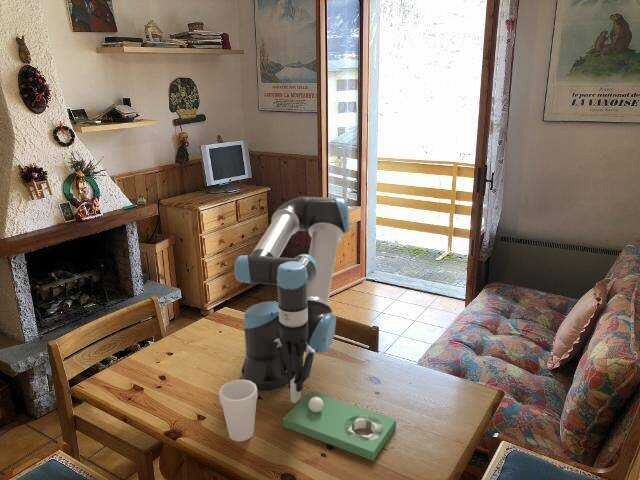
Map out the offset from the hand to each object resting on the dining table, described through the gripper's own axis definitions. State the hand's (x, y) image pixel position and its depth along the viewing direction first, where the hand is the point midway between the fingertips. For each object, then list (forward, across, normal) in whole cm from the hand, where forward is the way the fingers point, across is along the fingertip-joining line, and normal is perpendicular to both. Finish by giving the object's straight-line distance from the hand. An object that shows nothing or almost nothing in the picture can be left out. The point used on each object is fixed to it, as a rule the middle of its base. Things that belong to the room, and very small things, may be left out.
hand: (295, 399), depth 142 cm
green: (+4, +13, 0) cm, 14 cm away
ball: (0, +6, 0) cm, 6 cm away
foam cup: (+4, -8, -14) cm, 17 cm away
